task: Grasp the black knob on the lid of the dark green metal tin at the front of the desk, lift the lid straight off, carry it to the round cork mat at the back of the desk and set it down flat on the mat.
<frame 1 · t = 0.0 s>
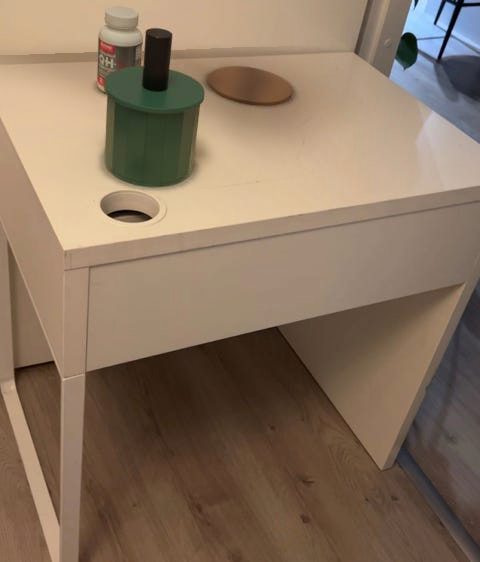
cork mat: (249, 86, 100), on the table
pill bottle: (118, 89, 94), on the table
tin: (148, 164, 80), on the table
tin lid: (154, 91, 74), point 8 cm above the table, touching tin
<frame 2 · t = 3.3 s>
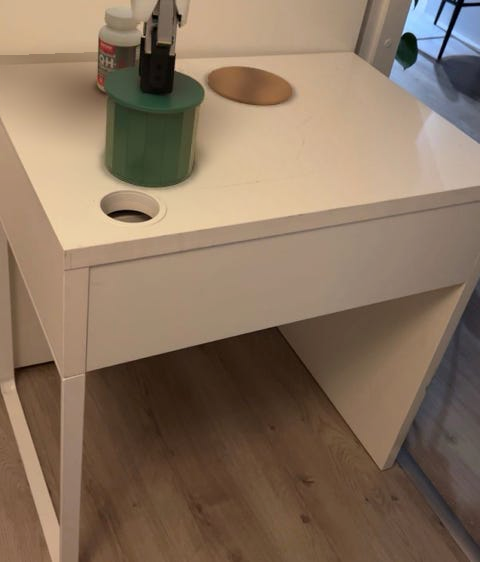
hand: (155, 82, 74), 9 cm above the table, tool pointing down, fingers closed on tin lid, 2 cm apart
tin lid: (154, 91, 74), point 9 cm above the table, touching gripper, tin
everything else where it was.
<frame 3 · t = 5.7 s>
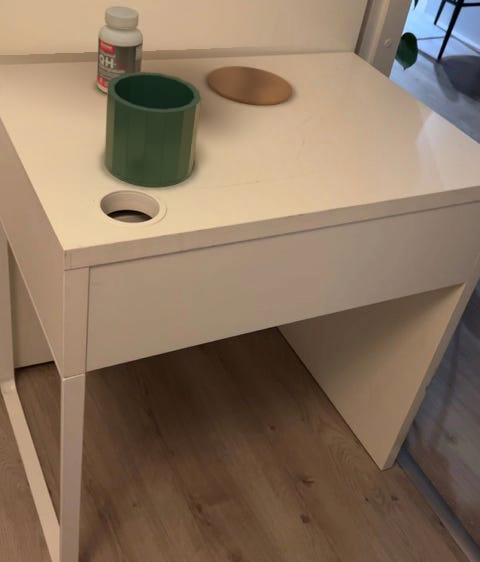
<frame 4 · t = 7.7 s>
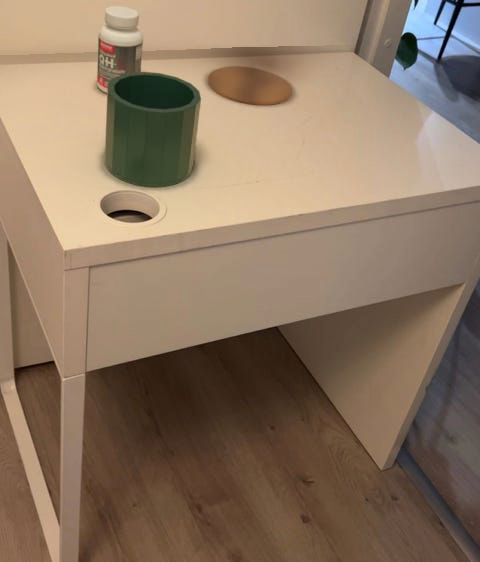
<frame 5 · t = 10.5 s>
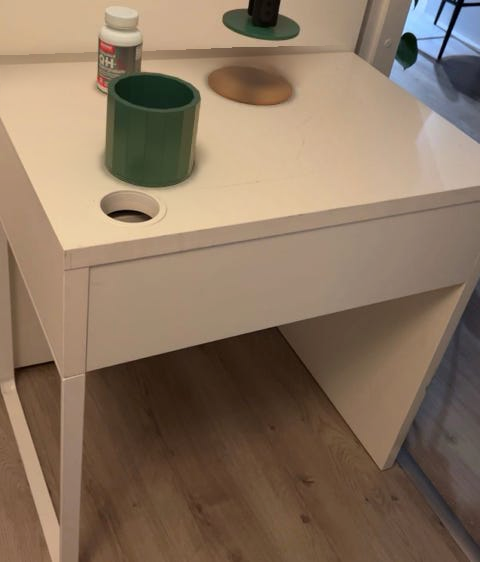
hand: (261, 19, 95), 9 cm above the table, tool pointing down, fingers closed on tin lid, 2 cm apart
tin lid: (260, 25, 95), point 8 cm above the table, touching gripper
everything else where it was.
when the fingers open (2 cm above the table, at t = 12.4 s): tin lid stays where it is, resting on cork mat.
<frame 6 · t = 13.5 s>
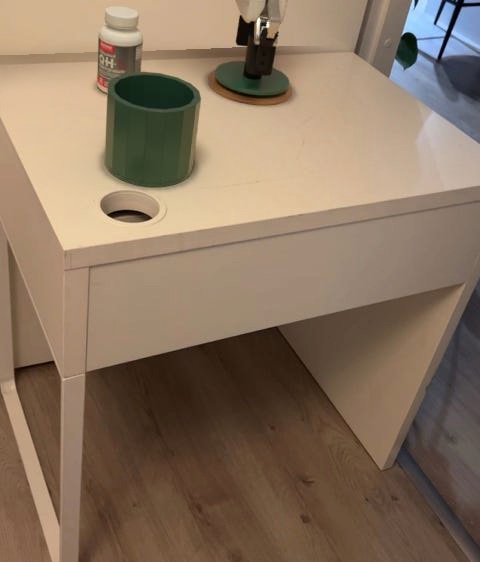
hand: (252, 59, 98), 4 cm above the table, tool pointing down, fingers open, 9 cm apart
tin lid: (251, 79, 100), point 1 cm above the table, touching cork mat
everything else where it was.
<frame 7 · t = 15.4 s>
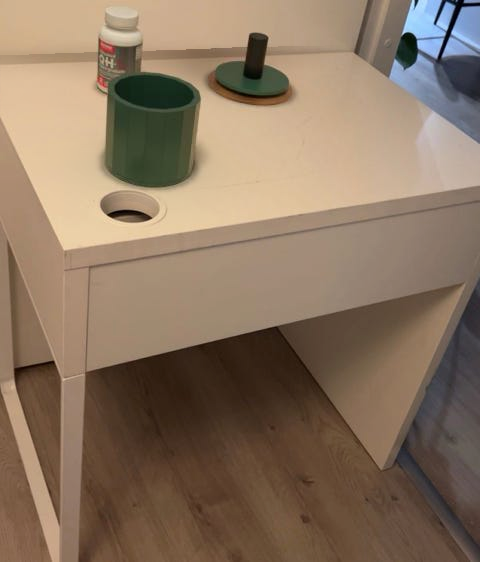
nothing on the table moved.
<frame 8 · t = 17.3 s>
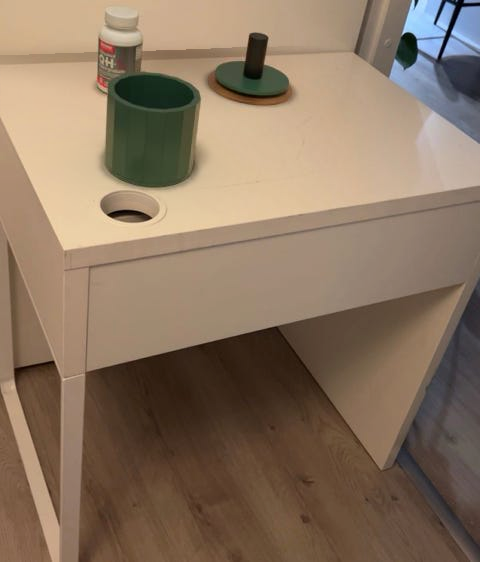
nothing on the table moved.
at the end: tin lid 0.1 cm off-centre on the cork mat, point 1.0 cm above the cork mat's base; tin lid tilted 0°; the gripper is holding nothing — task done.
